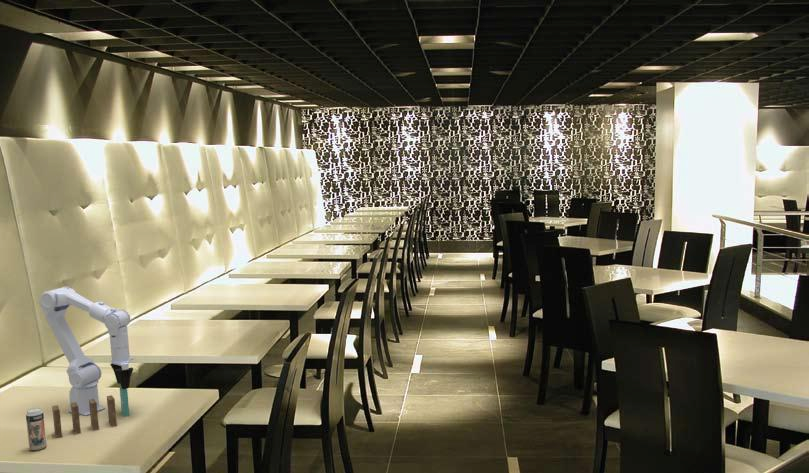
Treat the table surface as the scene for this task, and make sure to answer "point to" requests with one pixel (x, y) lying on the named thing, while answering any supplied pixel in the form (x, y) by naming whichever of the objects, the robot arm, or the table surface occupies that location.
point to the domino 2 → (75, 418)
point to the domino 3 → (93, 414)
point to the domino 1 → (57, 421)
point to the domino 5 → (124, 401)
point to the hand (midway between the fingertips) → (123, 385)
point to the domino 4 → (111, 411)
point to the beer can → (36, 429)
